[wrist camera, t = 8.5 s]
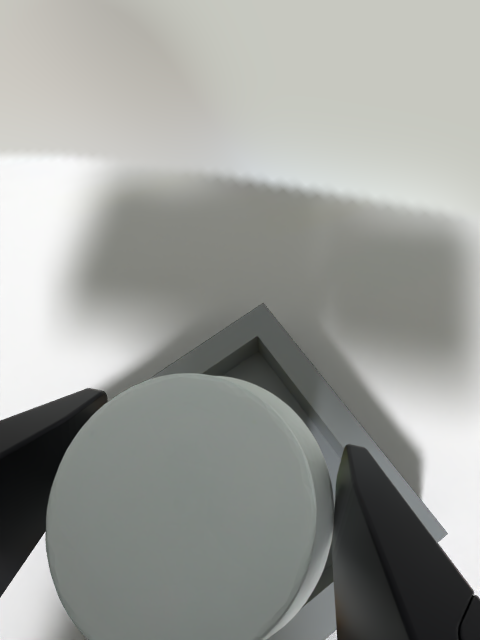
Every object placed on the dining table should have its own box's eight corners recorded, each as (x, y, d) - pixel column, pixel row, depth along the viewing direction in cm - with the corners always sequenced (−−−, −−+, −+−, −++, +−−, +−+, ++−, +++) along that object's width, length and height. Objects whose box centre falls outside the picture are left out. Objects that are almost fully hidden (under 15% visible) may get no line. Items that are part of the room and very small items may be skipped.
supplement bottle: (128, 500, 15) (-79, 515, 6) (227, 391, 16) (176, 271, 7) (237, 622, 13) (172, 887, 4) (337, 489, 15) (443, 487, 6)
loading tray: (420, 526, 15) (447, 533, 13) (197, 714, 14) (182, 761, 11) (263, 325, 19) (263, 302, 16) (70, 456, 17) (39, 452, 15)
